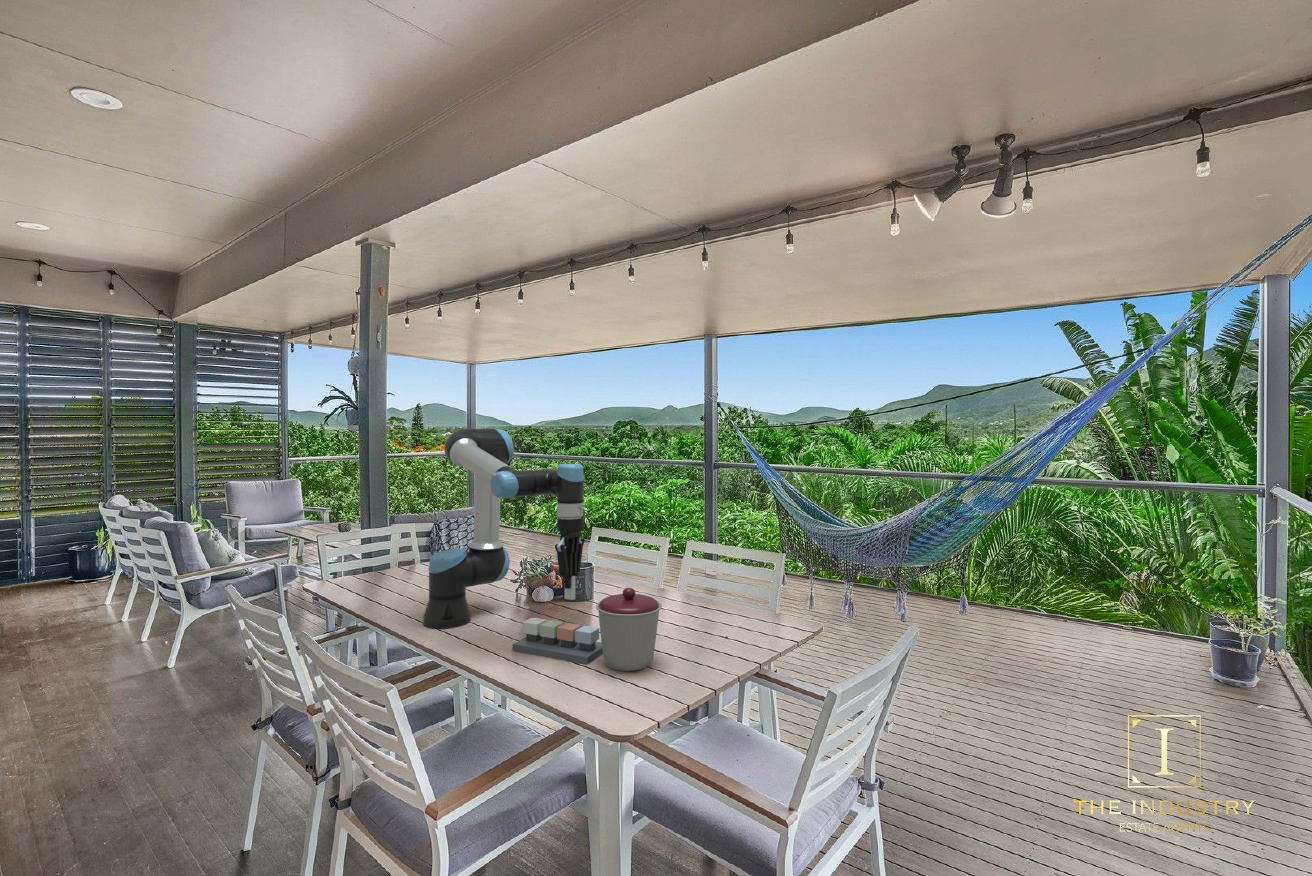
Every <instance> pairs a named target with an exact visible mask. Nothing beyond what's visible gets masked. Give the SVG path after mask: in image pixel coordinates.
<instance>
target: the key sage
mask: <svg viewBox="0 0 1312 876" xmlns="http://www.w3.org/2000/svg"><path fill="white" fill-rule="evenodd" d="M563 624H565V623H564V622H563V621H557V620H546V622H545V623H543V624H541V625H540V636H543V637H549V638H556V637H557V628H558V627H560V626H562V625H563Z"/></svg>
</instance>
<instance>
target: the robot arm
mask: <svg viewBox="0 0 1312 876" xmlns="http://www.w3.org/2000/svg"><path fill="white" fill-rule="evenodd" d="M443 447H444V449H443V450H444V455H445V457H446V458H447V459H448V461H449V462H450V463H452V464H454V465H455V466H457V467H460V468H462V467H463V468H465V469H466V470H468V471H469V472H471V473H473V474H474V475H475V485H474V486H475V488H474V490H475V491H474V492H475V493H474V515H473V516H474V518H473V519H474V520H473V540H472V541H471V542H470V543H469V544H468V551H467V550H466V549H463V548H451V549H444V550H441V551H438V552H436V553H434V554H433V555H432V556H430V559H429V563H428V564H429V565H428V602H427V604H426V608H425V612H424V614H423V616H422V617H423V619H422V621H423V622H422V624H423V626H424V627H427V628H431V629H450V628H456V627H460V626H464V625H466V624H468V623H469V622H471V620H472V613H471V610H470V607H469V603H468V600H467V596H466V595H467V588H469V587H474V586H479V585H485V584H493V583H496V582H499V581H501V580H503V579H504V578H506V576H507V574H508V572H509V569H510V563H511V562H510V556H509V552H508V550H507V548H505V547H504V544H503V542H502V541H501V540H500V525H501V524H500V521H501V520H500V519H501V499H503V498H504V499H511V498H520V497H534V496H547V495H551V496H556V497H557V499H556V500H557V504H556V505H557V507H556V516H557V517H558V518H557V520H556V521H557V522H556V524H557V525H556V529H557V531H558V532H560V537H559V543H558V544H557V543H555V545H554V548H555V551H556V558H557V565H558V571H559V576H560V577H563V578H564V600H570V601H573V600H576V577H577V576H579V575H580V573H579V572H581V566H582V556H583V549H584V545H585V541H586V540H585V538H584V537H583V538H582V537H581V533H580V532H582V531H584V518H583V516H584V509H585V508H584V493H585V492H584V487H585V485H584V481H585V476H584V466H583V465H582V464H580V463H560V464H559V465H557V469H551V468H540V469H532V470H528V469H526V470H518V469H515V468H513V467H511V466H509V465H508V464H507V463H509V462H510V461H511V460H512V459H513V456H514V451H515V450H514V442H513V440H512V437H511V436H510V434H509V432H507V431H506V430H504V429H499V428H498V429H497V428H461V429H457V430H456V431H453V432H452V433H451V434H450V435H449V436H448V437H447V439H446V440H445V442H444V446H443Z"/></svg>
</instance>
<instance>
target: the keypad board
mask: <svg viewBox="0 0 1312 876" xmlns="http://www.w3.org/2000/svg"><path fill="white" fill-rule="evenodd" d="M511 645H512V649H511V650H512V652H516V653H522V654H526V655H527V654H528V655H533V656H539V657H544V658H549V659H553V660H559V661H564V662H570V663H575V664H576V663H577V664H580V665H581V664H582V665H590V664H591V663H592V662H594V661H595V660H596V659H598V658H599V657H601V656H603V651H602V643H601V641H595V642H594V643H592V644H591V645H590V644H584V643H578V642H575V640H574V641H567V640H561V639H557V637H556V638H549V637H543V636H540V634H538V635H531V634H525V637H523V638H521V639H519V640H518V641H515V642H514V643H512V644H511Z"/></svg>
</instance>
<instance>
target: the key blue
mask: <svg viewBox="0 0 1312 876" xmlns="http://www.w3.org/2000/svg"><path fill="white" fill-rule="evenodd" d="M598 640H600V627H595V626H589V625H583V626H581V628H579V629H577V630H576V631H575V642H578V643H584V644H590V645H591V644H592V643H594V642H595V641H596V642H598Z"/></svg>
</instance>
